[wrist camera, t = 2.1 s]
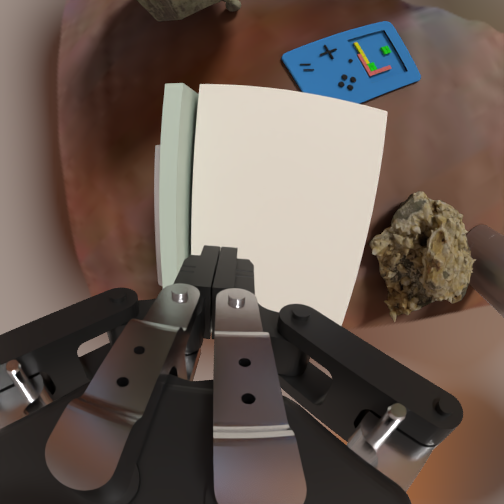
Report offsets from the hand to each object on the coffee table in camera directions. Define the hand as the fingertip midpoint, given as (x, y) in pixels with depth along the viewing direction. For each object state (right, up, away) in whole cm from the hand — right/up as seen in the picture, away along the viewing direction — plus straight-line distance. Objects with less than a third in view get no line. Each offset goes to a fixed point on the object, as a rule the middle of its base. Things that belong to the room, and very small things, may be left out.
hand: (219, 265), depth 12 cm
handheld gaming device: (+13, +21, +11) cm, 27 cm away
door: (-3, +7, +15) cm, 17 cm away
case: (+3, +7, +17) cm, 18 cm away
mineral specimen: (+21, +2, +19) cm, 28 cm away
